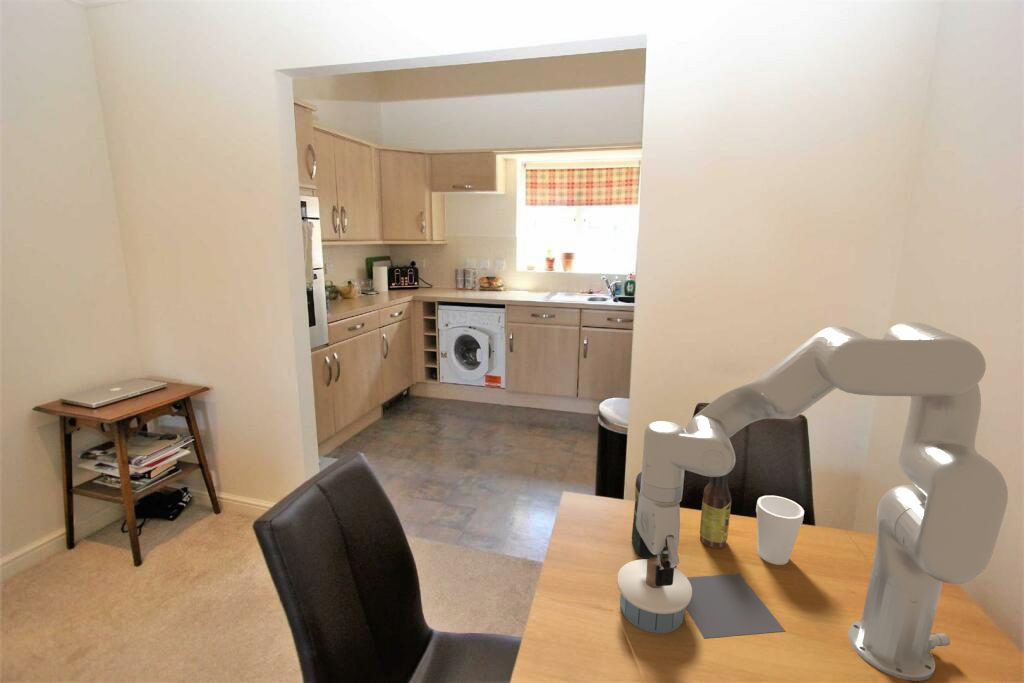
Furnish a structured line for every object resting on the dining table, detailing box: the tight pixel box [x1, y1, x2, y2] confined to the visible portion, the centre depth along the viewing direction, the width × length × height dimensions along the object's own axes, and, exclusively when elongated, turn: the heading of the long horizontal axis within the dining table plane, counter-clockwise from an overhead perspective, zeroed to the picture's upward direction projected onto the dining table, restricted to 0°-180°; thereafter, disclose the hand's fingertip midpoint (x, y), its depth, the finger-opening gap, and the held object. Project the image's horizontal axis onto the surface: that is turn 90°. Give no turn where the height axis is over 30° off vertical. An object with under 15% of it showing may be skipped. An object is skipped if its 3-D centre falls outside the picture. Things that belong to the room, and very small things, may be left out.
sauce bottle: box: [699, 473, 732, 549], centre depth 121 cm, size 6×6×20 cm
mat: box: [685, 573, 786, 639], centre depth 103 cm, size 16×16×1 cm
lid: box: [616, 557, 692, 614], centre depth 99 cm, size 14×14×6 cm
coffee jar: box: [631, 471, 669, 559], centre depth 118 cm, size 10×8×19 cm
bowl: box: [619, 593, 685, 634], centre depth 101 cm, size 12×12×6 cm
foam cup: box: [755, 495, 805, 566], centre depth 116 cm, size 10×9×13 cm
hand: (654, 568), depth 99 cm, fingers open, 8 cm apart
